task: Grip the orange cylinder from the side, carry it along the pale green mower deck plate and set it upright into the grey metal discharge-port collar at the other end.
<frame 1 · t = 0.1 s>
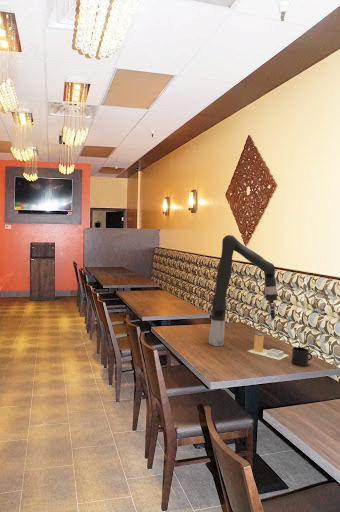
hand: (272, 317, 279), 22 cm above the table, tool pointing down, fingers open, 8 cm apart
orange cylinder: (258, 350, 273), point 1 cm above the table, touching mower deck
mug: (301, 364, 255), on the table
mower deck: (267, 355, 268), on the table
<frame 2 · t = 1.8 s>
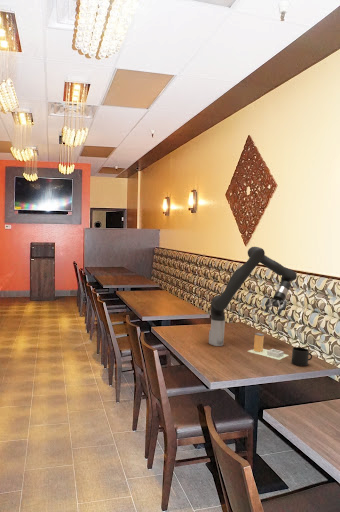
hand: (271, 313, 281), 25 cm above the table, tool tilted 45°, fingers open, 8 cm apart
nothing on the table moved.
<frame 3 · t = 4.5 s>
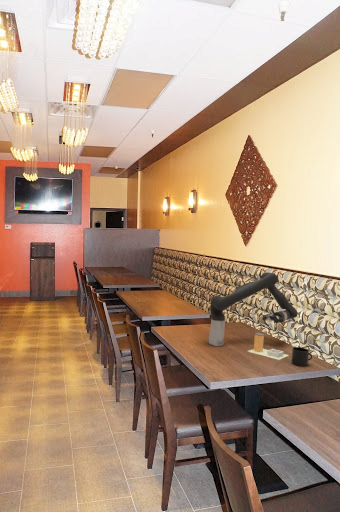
hand: (268, 319, 280), 20 cm above the table, tool horizontal, fingers open, 8 cm apart
nothing on the table moved.
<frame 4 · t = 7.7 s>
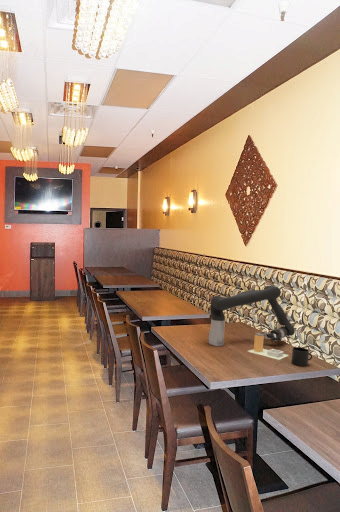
hand: (265, 338, 280), 8 cm above the table, tool horizontal, fingers open, 8 cm apart
nothing on the table moved.
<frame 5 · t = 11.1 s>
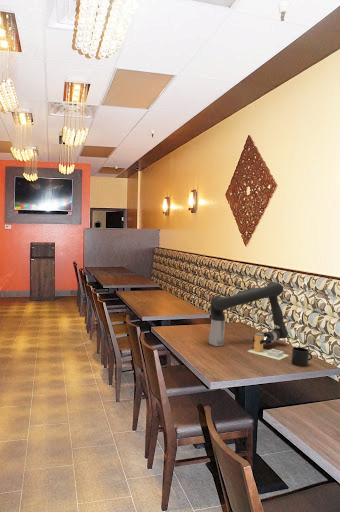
hand: (256, 341, 270), 8 cm above the table, tool horizontal, fingers closed on orange cylinder, 4 cm apart
orange cylinder: (258, 350, 273), point 2 cm above the table, touching gripper, mower deck
everything else where it was.
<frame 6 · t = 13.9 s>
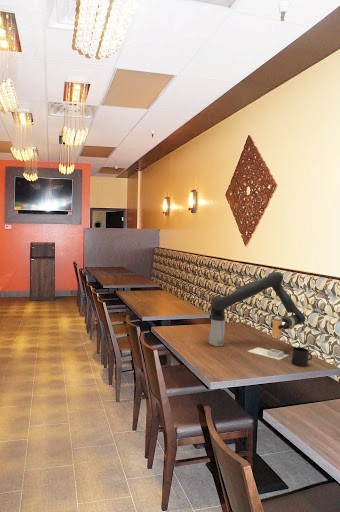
hand: (275, 326, 262), 20 cm above the table, tool horizontal, fingers closed on orange cylinder, 4 cm apart
orange cylinder: (276, 336, 265), point 13 cm above the table, touching gripper
everything else where it was.
when the fingers open (9 cm above the table, at t = 16.9 s): orange cylinder drops 1 cm, resting on mower deck.
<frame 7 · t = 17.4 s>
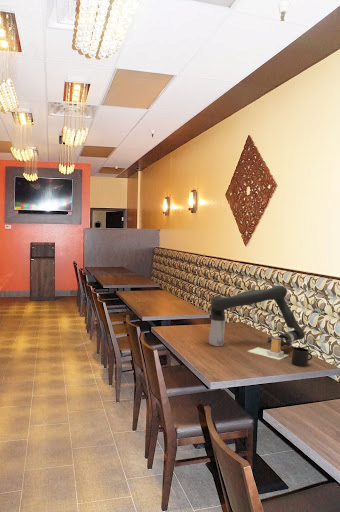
hand: (274, 343, 263), 10 cm above the table, tool horizontal, fingers open, 8 cm apart
orange cylinder: (275, 355, 265), point 1 cm above the table, touching mower deck
everything else where it was.
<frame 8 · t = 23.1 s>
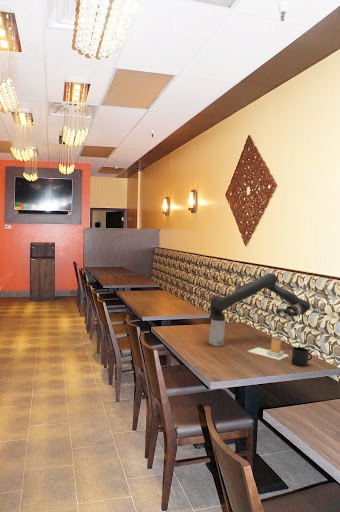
hand: (282, 313, 275), 26 cm above the table, tool horizontal, fingers open, 8 cm apart
nothing on the table moved.
at the end: orange cylinder 0.0 cm from the target spot on the mower deck, point 1.5 cm above the mower deck's base; orange cylinder tilted 0°; the gripper is holding nothing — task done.
